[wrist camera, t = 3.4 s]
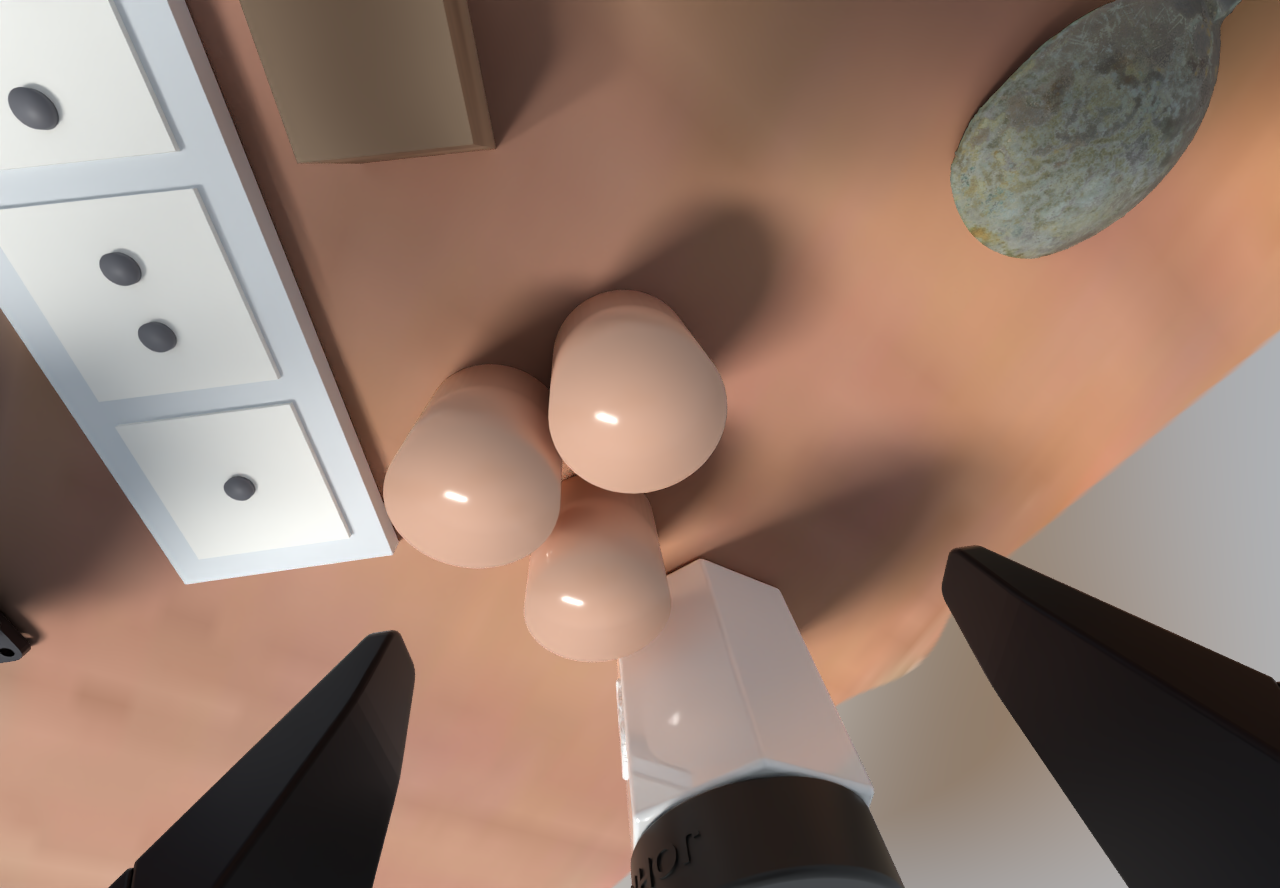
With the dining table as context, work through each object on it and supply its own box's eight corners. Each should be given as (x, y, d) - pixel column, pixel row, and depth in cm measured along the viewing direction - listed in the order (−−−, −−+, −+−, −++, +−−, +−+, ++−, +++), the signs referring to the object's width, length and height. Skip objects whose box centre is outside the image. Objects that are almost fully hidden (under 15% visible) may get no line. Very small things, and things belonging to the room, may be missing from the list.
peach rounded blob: (563, 430, 20) (562, 503, 16) (542, 297, 18) (534, 339, 13) (692, 414, 21) (726, 482, 16) (688, 282, 18) (727, 319, 14)
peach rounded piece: (546, 576, 24) (538, 671, 19) (523, 481, 21) (509, 564, 17) (657, 560, 24) (675, 650, 19) (647, 464, 21) (665, 542, 17)
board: (198, 570, 21) (178, 591, 20) (-280, -172, 11) (-367, -206, 10) (398, 542, 22) (389, 561, 21) (105, -201, 12) (59, -236, 11)
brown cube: (360, 163, 16) (297, 163, 12) (307, -11, 14) (214, -71, 10) (496, 148, 16) (473, 144, 12) (462, -26, 14) (423, -89, 10)
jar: (608, 562, 23) (633, 888, 13) (787, 549, 24) (949, 847, 14) (614, 696, 28) (636, 1026, 17) (766, 681, 28) (878, 989, 18)
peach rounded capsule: (447, 492, 21) (413, 578, 17) (409, 373, 19) (357, 438, 14) (573, 474, 21) (572, 556, 17) (551, 355, 19) (543, 413, 14)
